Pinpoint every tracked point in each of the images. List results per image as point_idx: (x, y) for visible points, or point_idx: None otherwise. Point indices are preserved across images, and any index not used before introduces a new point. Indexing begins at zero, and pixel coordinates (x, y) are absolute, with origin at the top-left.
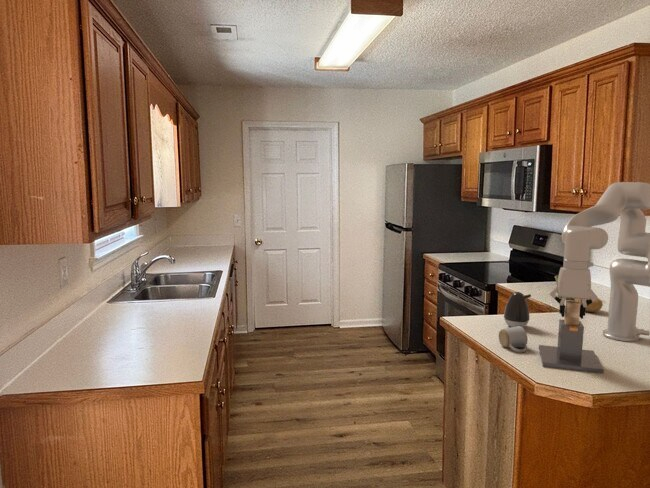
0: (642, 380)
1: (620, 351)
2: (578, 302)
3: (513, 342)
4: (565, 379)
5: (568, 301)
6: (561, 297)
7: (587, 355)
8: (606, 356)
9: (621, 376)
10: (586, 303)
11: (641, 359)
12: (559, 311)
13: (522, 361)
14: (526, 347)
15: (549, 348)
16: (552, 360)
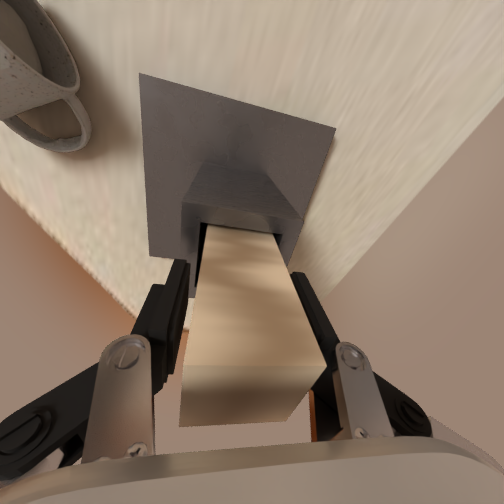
0: (338, 279)
1: (452, 69)
2: (294, 398)
3: (10, 116)
4: (194, 300)
5: (203, 397)
6: (100, 441)
7: (291, 183)
8: (363, 139)
9: (311, 269)
10: (338, 417)
11: (446, 153)
12: (151, 293)
13: (96, 225)
14: (86, 133)
15: (180, 125)
16: (176, 240)
